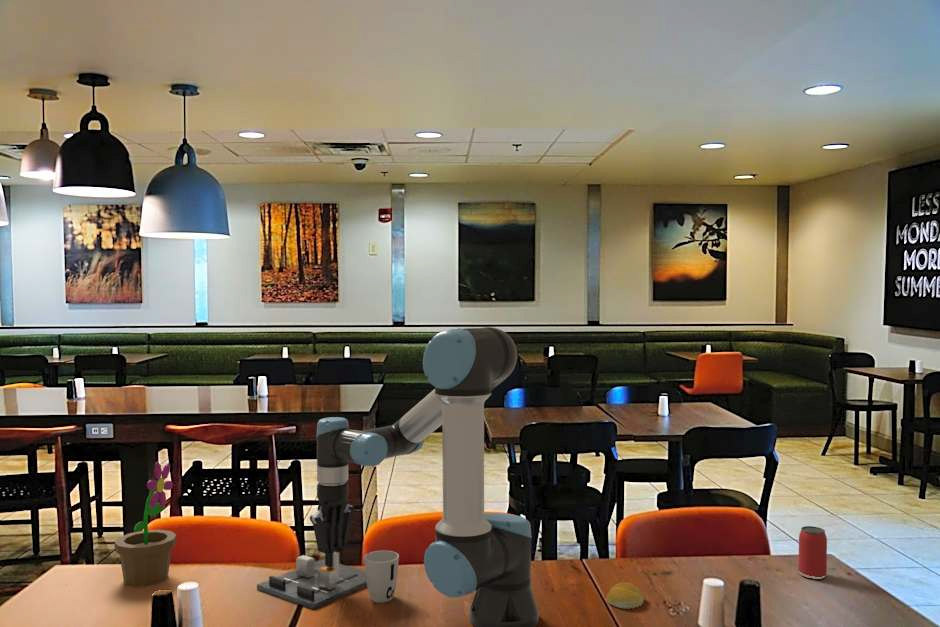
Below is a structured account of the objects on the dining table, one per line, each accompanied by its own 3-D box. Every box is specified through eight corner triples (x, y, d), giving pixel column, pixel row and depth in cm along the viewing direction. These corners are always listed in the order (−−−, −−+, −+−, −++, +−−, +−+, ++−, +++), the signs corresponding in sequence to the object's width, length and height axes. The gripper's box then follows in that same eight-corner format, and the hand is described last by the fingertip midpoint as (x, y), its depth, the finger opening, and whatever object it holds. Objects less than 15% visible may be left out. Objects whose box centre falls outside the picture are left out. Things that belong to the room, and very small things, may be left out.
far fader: (314, 575, 190) (314, 558, 190) (307, 577, 188) (307, 560, 188) (303, 571, 193) (303, 554, 193) (296, 574, 191) (296, 557, 191)
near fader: (336, 586, 183) (336, 569, 183) (329, 589, 181) (329, 571, 181) (324, 583, 185) (324, 565, 185) (317, 586, 183) (317, 568, 183)
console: (379, 580, 191) (379, 567, 191) (313, 609, 173) (313, 595, 173) (324, 563, 202) (324, 551, 202) (256, 589, 185) (256, 576, 185)
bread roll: (603, 607, 175) (603, 590, 175) (611, 593, 184) (612, 576, 183) (640, 613, 172) (640, 595, 172) (646, 598, 180) (646, 581, 180)
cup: (392, 606, 175) (393, 563, 174) (359, 603, 176) (359, 560, 176) (403, 593, 183) (403, 551, 182) (370, 590, 184) (370, 549, 184)
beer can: (799, 579, 193) (800, 531, 192) (796, 569, 199) (797, 524, 199) (828, 581, 191) (829, 534, 190) (824, 572, 197) (825, 526, 197)
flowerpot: (158, 591, 183) (157, 467, 183) (102, 588, 185) (101, 465, 184) (187, 569, 198) (186, 454, 197) (135, 567, 199) (134, 453, 198)
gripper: (341, 474, 191) (341, 567, 192) (301, 485, 181) (301, 583, 181) (362, 479, 187) (362, 574, 188) (323, 489, 176) (323, 590, 177)
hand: (332, 578), depth 185 cm, fingers closed
